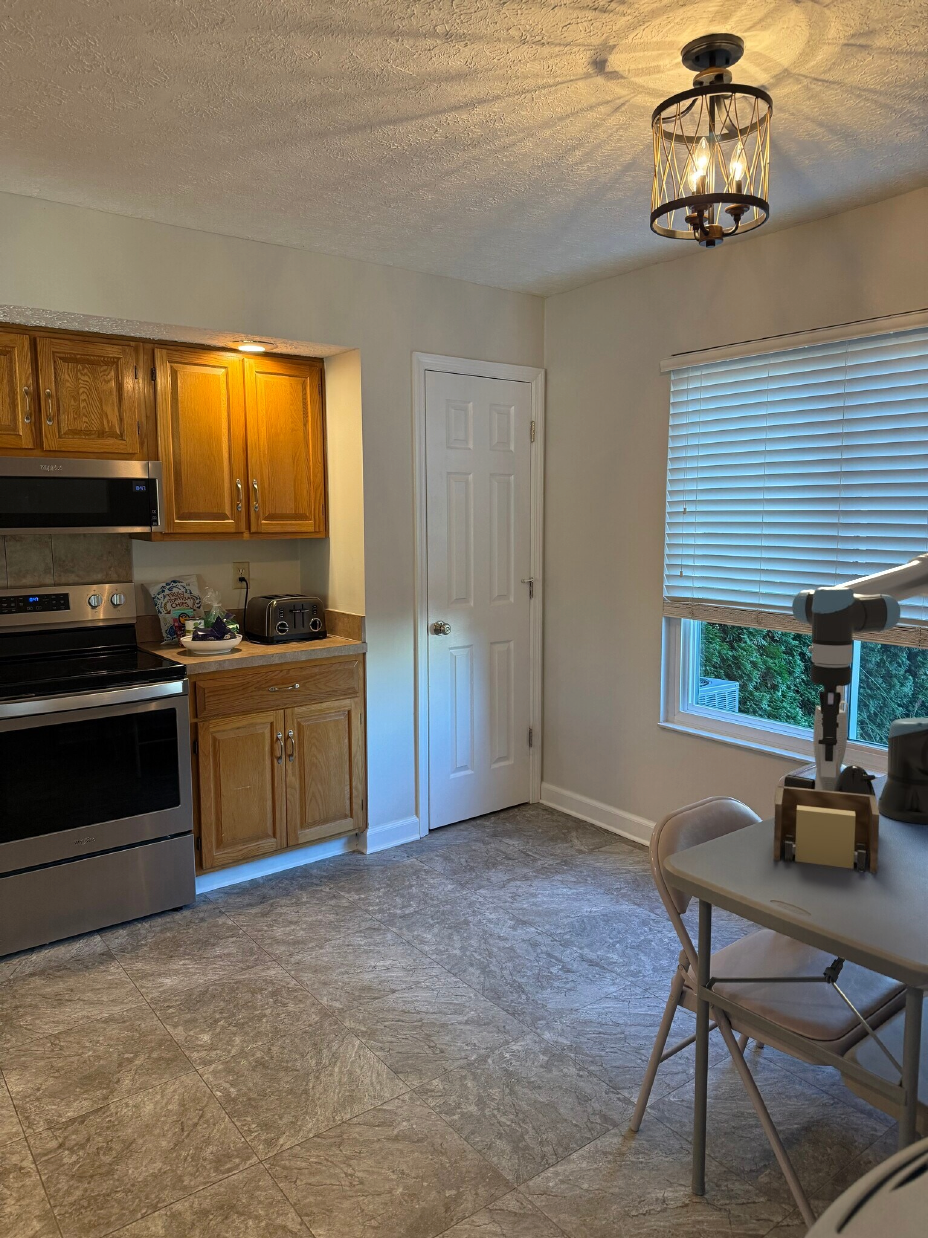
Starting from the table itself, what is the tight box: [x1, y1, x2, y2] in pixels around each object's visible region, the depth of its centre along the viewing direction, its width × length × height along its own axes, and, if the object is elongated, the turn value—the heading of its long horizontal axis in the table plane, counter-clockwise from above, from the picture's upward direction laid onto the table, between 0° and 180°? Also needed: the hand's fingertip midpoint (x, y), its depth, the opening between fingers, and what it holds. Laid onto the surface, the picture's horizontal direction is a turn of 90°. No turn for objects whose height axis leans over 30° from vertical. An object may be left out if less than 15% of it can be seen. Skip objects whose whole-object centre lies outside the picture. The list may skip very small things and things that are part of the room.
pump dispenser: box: [833, 764, 878, 802], centre depth 194 cm, size 10×10×15 cm
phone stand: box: [783, 774, 815, 789], centre depth 196 cm, size 9×6×12 cm, turn 140°
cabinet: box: [773, 785, 880, 874], centre depth 180 cm, size 19×13×12 cm
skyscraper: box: [812, 700, 849, 791], centre depth 204 cm, size 8×8×28 cm
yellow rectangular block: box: [792, 805, 858, 870], centre depth 176 cm, size 15×3×11 cm, turn 68°
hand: (827, 767), depth 175 cm, fingers open, 13 cm apart
